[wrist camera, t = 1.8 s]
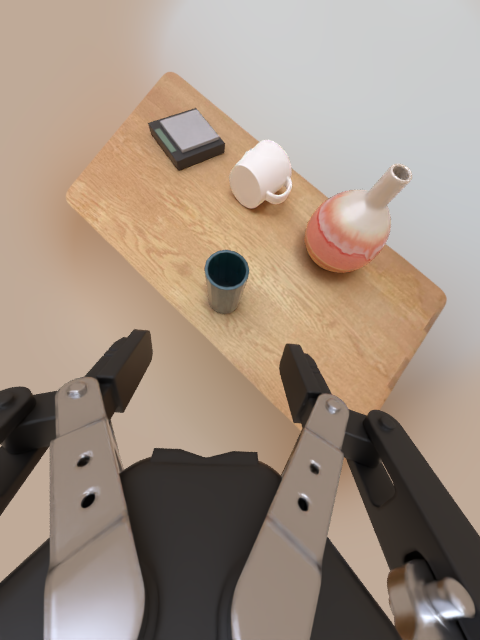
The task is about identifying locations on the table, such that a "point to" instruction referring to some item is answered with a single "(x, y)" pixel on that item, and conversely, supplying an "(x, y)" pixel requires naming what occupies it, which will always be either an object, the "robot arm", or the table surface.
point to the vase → (354, 224)
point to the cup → (225, 280)
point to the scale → (187, 138)
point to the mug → (261, 175)
